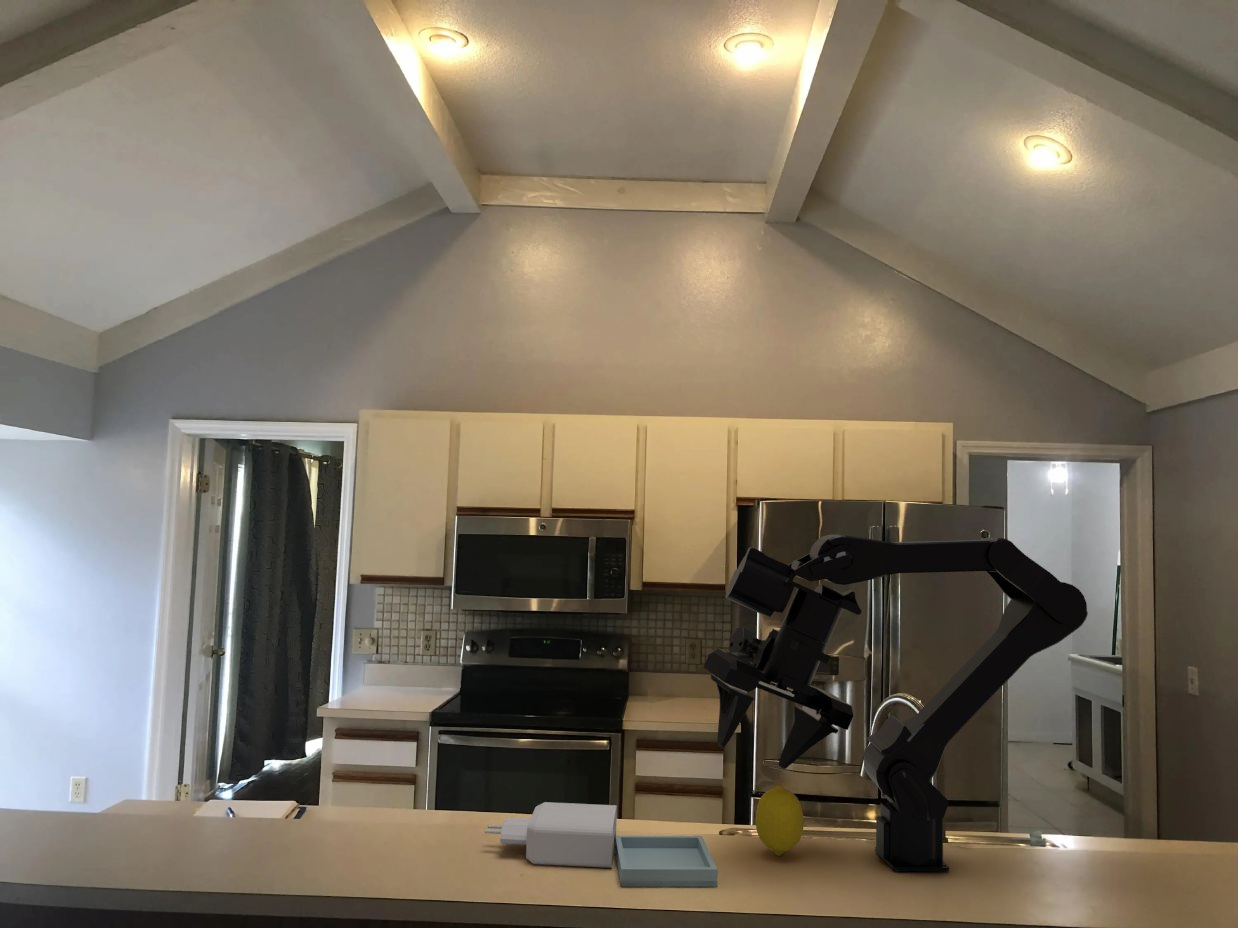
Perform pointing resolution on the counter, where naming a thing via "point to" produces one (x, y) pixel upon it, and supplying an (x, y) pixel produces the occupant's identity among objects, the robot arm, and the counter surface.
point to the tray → (664, 861)
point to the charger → (564, 834)
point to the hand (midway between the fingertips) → (751, 756)
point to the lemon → (779, 819)
